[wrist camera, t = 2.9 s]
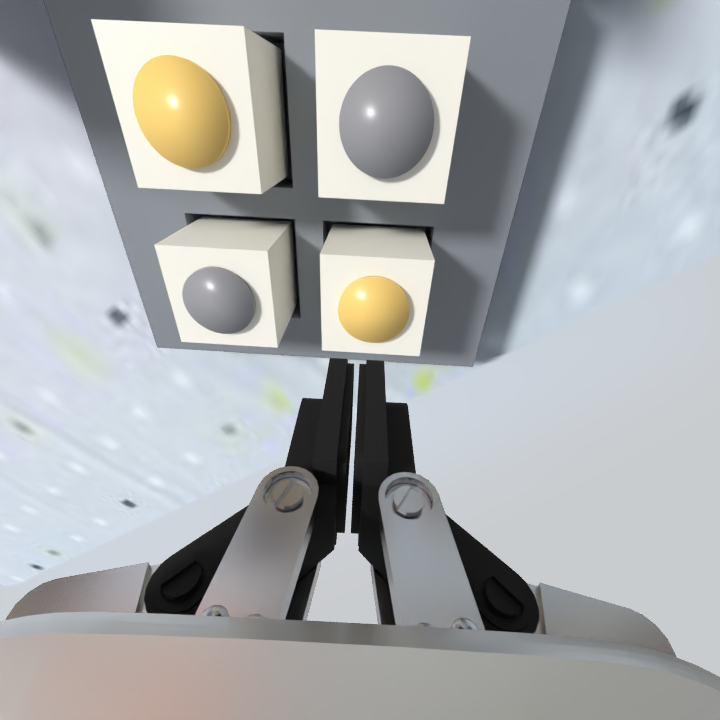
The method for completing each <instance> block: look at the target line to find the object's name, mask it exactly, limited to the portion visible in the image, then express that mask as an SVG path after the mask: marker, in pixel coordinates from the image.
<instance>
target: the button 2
mask: <svg viewBox="0 0 720 720" xmlns="http://www.w3.org/2000/svg"><path fill="white" fill-rule="evenodd" d="M154 246H155V249H156V253H157V256H158V260H159V264H160V267H161V271H162V274H163V278H164V281H165V285H166V288H167V292H168V296H169V299H170V303H171V306H172V310H173V313H174V317H175V320H176V324H177V328H178V331H179V335H180V338H181V342H192V343H209V344H225V345H242V346H258V347H274V348H278V346H279V343H280V341H281V339H282V337H283V334H284V332H285V330H286V328H287V325H288V323H289V321H290V319H291V316H292V314H293V312H294V309H295V307H296V305H297V294H296V278H295V263H294V247H293V231H292V221H274V220H256V219H237V218H219V217H201V218H199V219H198V220H196V221H194V222H193V223H191V224H189V225H187V226H186V227H184V228H182V229H180V230H179V231H177V232H175V233H174V234H172V235H170V236H168V237H167V238H165V239H163V240H162V241H160V242H158V243H156V244H155V245H154Z"/></svg>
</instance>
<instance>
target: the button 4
mask: <svg viewBox="0 0 720 720" xmlns="http://www.w3.org/2000/svg"><path fill="white" fill-rule="evenodd" d="M434 263H435V260H434V257H433V254H432V251H431V248H430V246H429V243H428V240H427V237H426V235H425V232H424V229H420V228H402V227H383V226H365V225H347V224H333V225H332V227H331V230H330V232H329V234H328V236H327V239H326V241H325V243H324V246H323V248H322V250H321V252H320V286H321V330H322V350H324V351H340V352H356V353H373V354H389V355H406V356H420V350H421V343H422V337H423V331H424V325H425V319H426V312H427V306H428V300H429V294H430V288H431V281H432V275H433V269H434Z"/></svg>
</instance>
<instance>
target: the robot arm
mask: <svg viewBox="0 0 720 720" xmlns="http://www.w3.org/2000/svg"><path fill="white" fill-rule="evenodd" d="M353 381H354V364H350V363H348V359H342V358H330V361H329V367H328V372H327V378H326V384H325V389H324V395H323V399H311V398H303V399H302V402H301V405H300V409H299V413H298V417H297V421H296V425H295V429H294V433H293V437H292V441H291V445H290V449H289V453H288V457H287V461H286V465H285V467H283V468H279V469H276V470H274V471H272V472H270V473H269V474H268V475H267V476H265V477H264V478H263V480H262V481H261V483H260V484H259V485H258V487H257V489H256V491H255V494H254V496H253V498H252V500H251V502H250V504H249V505H248V506H247V507H245V508H244V509H242V510H240V511H239V512H237V513H236V514H234V515H233V516H231V517H230V518H228V519H227V520H225V521H224V522H222V523H221V524H220V525H218V526H216V527H215V528H213V529H212V530H210V531H209V532H207V533H205V534H204V535H202V536H201V537H199V538H198V539H196V540H195V541H193V542H192V543H190V544H189V545H187V546H186V547H184V548H183V549H181V550H179V551H178V552H176V553H175V554H173V555H172V556H171V557H169V558H168V559H167V560H165V561H164V562H163V563H162V564H160V565H155V566H150V565H149V563H142V564H136V565H131V566H125V567H120V568H114V569H109V570H103V571H97V572H92V573H86V574H81V575H76V576H70V577H64V578H59V579H55V580H52V581H49V582H46V583H43V584H42V585H40V586H38V587H36V588H35V589H33V590H32V591H30V592H29V593H27V595H25V596H24V597H23V598H22V599H21V600H20V601H19V602H18V603H17V604H16V605H15V606H14V608H13V609H12V611H11V612H10V613H9V615H8V616H7V618H6V620H5V621H1V622H0V720H720V677H719V676H717V675H715V674H712V673H711V672H709V671H707V670H705V669H703V668H701V667H699V666H696V665H694V664H692V663H689V662H687V661H684V660H681V659H679V658H677V657H676V655H675V652H674V651H673V649H672V647H671V645H670V643H669V641H668V639H667V638H666V636H665V635H664V634H663V633H662V632H661V631H660V629H659V628H658V627H657V626H656V625H655V624H654V623H653V622H651V621H650V620H649V619H647V618H646V617H645V616H643V615H642V614H640V613H637V612H635V611H633V610H631V609H629V608H625V607H622V606H618V605H615V604H611V603H608V602H604V601H601V600H597V599H594V598H591V597H587V596H583V595H580V594H577V593H573V592H570V591H566V590H563V589H560V588H556V587H553V586H549V585H546V584H542V583H540V584H539V585H538V586H534V585H531V584H528V583H526V582H525V581H524V580H523V579H522V578H521V577H520V576H519V575H518V574H517V573H516V572H515V571H513V570H512V569H511V568H510V567H509V566H507V565H506V564H505V563H504V562H503V561H501V560H500V559H499V558H498V557H497V556H495V555H494V554H493V553H492V552H491V551H489V550H488V549H487V548H486V547H484V546H483V545H482V544H481V543H480V542H478V541H477V540H476V539H474V537H472V536H471V535H470V534H469V533H467V532H466V531H465V530H464V529H463V528H462V527H460V526H459V525H458V524H457V523H455V522H454V521H453V520H452V519H451V518H450V517H448V516H447V515H446V514H445V511H444V508H443V506H442V502H441V500H440V497H439V494H438V492H437V490H436V488H435V487H434V486H433V485H432V484H431V483H430V482H429V480H427V479H425V478H424V477H422V476H420V475H418V474H416V471H415V463H414V454H413V447H412V438H411V429H410V421H409V414H408V413H409V412H408V405H407V403H390V402H386V394H385V372H384V361H381V360H367V362H366V364H360V367H359V385H358V403H357V422H356V440H355V459H354V479H353V501H352V521H351V533H357V534H359V536H358V537H359V538H358V546H359V552H360V553H361V554H362V555H363V556H364V557H365V558H366V559H367V560H368V561H369V563H370V564H371V576H372V584H373V591H374V597H375V605H376V613H377V620H378V625H377V624H360V623H339V622H321V621H306V620H307V616H308V612H309V609H310V605H311V601H312V597H313V594H314V590H315V586H316V582H317V578H318V574H319V571H320V567H321V560H322V559H323V558H325V557H326V556H327V555H328V554H329V553H331V552H332V551H333V550H334V545H336V539H337V532H338V533H344V532H345V520H346V519H345V518H346V504H347V490H348V475H349V461H350V447H351V445H350V444H351V431H352V407H353Z"/></svg>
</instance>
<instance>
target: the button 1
mask: <svg viewBox="0 0 720 720" xmlns="http://www.w3.org/2000/svg"><path fill="white" fill-rule="evenodd" d="M91 21H92V25H93V29H94V32H95V36H96V39H97V43H98V46H99V50H100V53H101V57H102V61H103V64H104V68H105V71H106V75H107V78H108V82H109V86H110V89H111V93H112V96H113V100H114V103H115V107H116V110H117V114H118V118H119V121H120V125H121V128H122V132H123V135H124V139H125V142H126V146H127V150H128V153H129V157H130V160H131V164H132V167H133V171H134V175H135V178H136V182H137V185H138V188H154V189H173V190H192V191H210V192H229V193H248V194H263V193H264V192H265V191H267V190H268V189H270V188H271V187H273V186H274V185H276V184H277V183H279V182H280V181H282V180H283V179H285V178H286V177H288V176H289V169H288V153H287V137H286V121H285V106H284V90H283V74H282V59H281V49H279V48H278V47H276V46H275V45H273V44H272V43H270V42H268V41H267V40H265V39H264V38H262V37H260V36H259V35H257V34H256V33H254V32H252V31H251V30H249V29H248V28H246V27H244V26H231V25H209V24H187V23H165V22H143V21H121V20H99V19H91Z"/></svg>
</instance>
